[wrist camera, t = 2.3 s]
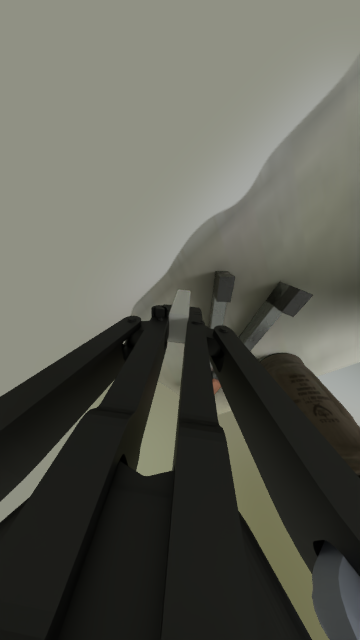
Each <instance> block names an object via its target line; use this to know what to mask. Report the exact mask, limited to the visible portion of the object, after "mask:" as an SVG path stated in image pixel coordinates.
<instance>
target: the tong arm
mask: <svg viewBox="0 0 360 640" xmlns="http://www.w3.org/2000/svg"><path fill="white" fill-rule="evenodd" d="M234 280H235V276H233V275H232V274H231V273H229V272H228V271H216V272H215V280H214V289H213V298H212V306H211V315H210V324H209V328H211V329H214V327H215V326H218V325H223V320H224V314H225V308H226V302H231V296H232V291H233V286H234ZM210 367H211V371H214V369H213V367H212V365H211V363H210Z"/></svg>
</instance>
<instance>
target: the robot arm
mask: <svg viewBox="0 0 360 640" xmlns="http://www.w3.org/2000/svg"><path fill="white" fill-rule="evenodd" d="M190 292H191V291H189V290H179V289H178V291H177V294H176V296H175V299H174V302H173V304H172V305H165V304H164V305H163V306H162V305H158V306H153V307H152V318H151V320H150V321H141V318H140V317H138V316H129V317H126V318H124V319H122V320H121V321H119V322H118V323H116V324H114V325H113V326H111V327H110V328H108V329H107V330H105V331H103V332H102V333H100V334H99V335H97V336H96V337H94V338H92V339H91V340H89V341H88V342H86V343H84V344H83V345H81V346H80V347H78V348H77V349H75V350H73V351H72V352H70V353H69V354H67V355H66V356H64V357H63V358H61V359H59V360H58V361H56V362H55V363H53V364H51V365H50V366H48V367H47V368H45V369H43V370H42V371H40V372H39V373H37V374H36V375H34V376H33V377H31V378H29V379H28V380H26V381H25V382H23V383H22V384H20V385H18V386H17V387H15V388H14V389H12V390H11V391H9V392H7V393H6V394H4V395H2V396H1V397H0V501H1V500H2V499H3V498H5V497H6V496H7V495H8V494H9V493H10V492H11V491H12V490H13V489H14V488H15V487H16V486H17V485H18V484H19V483H20V482H21V481H22V480H23V479H24V478H25V477H26V476H27V475H28V474H29V473H30V472H31V471H32V470H33V469H34V468H35V467H36V466H37V465H38V464H39V463H40V462H41V461H42V459H43V458H44V457H45V456H46V455H47V454H48V453H49V451H51V449H52V448H53V447H54V446H55V445H56V444H57V443H58V442H59V441H60V439H61V438H62V437H63V436H64V435H65V434H66V433H67V432H68V431H69V429H70V428H71V427H72V426H73V425H74V424H75V423H76V422H77V421H78V419H79V418H80V417H81V416H82V415H83V414H84V413H85V412H86V411H87V410H88V408H89V407H90V406H91V405H92V404H93V403H94V402H95V401H96V400H97V398H98V397H99V396H100V395H101V394H102V393H103V392H104V391H105V390H106V388H107V387H108V386H109V385H110V384H111V383H112V382H113V381H114V382H113V384H112V386H111V387H110V389H109V390H108V392H107V394H106V395H105V397H104V399H103V401H102V402H101V404H100V405H99V406H98V407H97V408H94V409H91V410H89V411H88V412H87V413H86V414H85V415H84V416H83V418H82V419H81V420H80V421H79V423H78V424H77V426H76V427H75V429H74V431H73V432H72V434H71V435H70V437H69V438H68V440H67V441H66V443H65V444H64V446H63V447H62V449H61V450H60V452H59V453H58V455H57V457H56V458H55V460H54V461H53V463H52V464H51V466H50V467H49V469H48V470H47V472H46V473H45V475H44V476H43V478H42V479H41V481H40V482H39V484H38V486H37V487H36V489H35V490H34V492H33V493H32V495H31V496H30V497H29V498H28V499H27V500H26V501H25V502H23V503H22V504H21V505H20V506H19V507H18V508H16V509H15V510H14V511H13V512H12V513H11V514H9V515H8V516H7V517H6V518H5V519H4V520H3V521H1V522H0V640H312V639H311V637H310V635H309V633H308V632H307V630H306V628H305V626H304V624H303V623H302V621H301V619H300V618H299V616H298V614H297V612H296V610H295V609H294V607H293V605H292V603H291V601H290V599H289V598H288V596H287V594H286V592H285V590H284V589H283V587H282V585H281V583H280V582H279V580H278V578H277V576H276V574H275V573H274V571H273V569H272V567H271V565H270V564H269V562H268V560H267V558H266V556H265V555H264V553H263V551H262V549H261V547H260V546H259V544H258V542H257V540H256V539H255V537H254V535H253V533H252V531H251V530H250V528H249V526H248V525H247V523H246V521H245V520H244V518H243V517H242V515H241V514H240V512H239V511H238V507H237V501H236V495H235V489H234V483H233V477H232V471H231V465H230V459H229V453H228V447H227V441H226V437H225V433H224V430H223V428H222V427H220V426H219V423H218V418H217V410H216V403H215V396H214V388H213V381H212V374H211V367H210V363H211V365H212V367H213V369H214V372H215V374H216V376H217V378H218V381H219V383H220V385H221V387H222V389H223V392H224V394H225V396H226V398H227V401H228V403H229V405H230V407H231V410H232V412H233V414H234V416H235V419H236V421H237V423H238V425H239V427H240V429H241V432H242V434H243V436H244V439H245V441H246V443H247V445H248V448H249V450H250V452H251V454H252V457H253V459H254V461H255V463H256V465H257V468H258V470H259V472H260V475H261V477H262V479H263V481H264V483H265V486H266V488H267V490H268V492H269V495H270V497H271V499H272V501H273V503H274V505H275V507H276V510H277V512H278V513H279V516H280V518H281V520H282V522H283V524H284V526H285V528H286V530H287V531H288V533H289V535H290V537H291V539H292V541H293V542H294V544H295V546H296V548H297V550H298V551H299V553H300V555H301V557H302V558H303V560H304V561H305V563H306V565H307V567H308V568H309V570H310V571H311V573H312V581H313V592H312V599H313V604H314V609H315V612H316V614H317V617H318V619H319V622H320V624H321V626H322V628H323V629H324V631H325V633H326V634H327V636H328V638H329V639H330V640H360V478H359V477H358V476H357V474H356V473H355V472H354V471H353V470H352V469H351V467H350V466H349V465H348V464H347V463H346V462H345V460H344V459H343V458H342V457H341V456H340V455H339V454H338V452H337V451H336V450H335V449H334V448H333V447H332V445H331V444H330V443H329V442H328V441H327V440H326V438H325V437H324V436H323V435H322V434H321V433H320V432H319V430H318V429H317V428H316V427H315V426H314V425H313V423H312V422H311V421H310V420H309V419H308V418H307V416H306V415H305V414H304V413H303V412H302V411H301V410H300V408H299V407H298V406H297V405H296V404H295V403H294V401H293V400H292V399H291V398H290V397H289V396H288V395H287V393H286V392H285V391H284V390H283V389H282V388H281V386H280V385H279V384H278V383H277V382H276V381H275V379H274V378H273V377H272V376H271V375H270V374H269V373H268V371H267V370H266V369H265V368H264V367H263V366H262V364H261V363H260V362H259V361H258V360H257V359H256V357H255V356H254V355H253V354H252V353H251V352H250V351H249V349H248V348H247V347H246V346H245V345H244V344H243V342H242V341H241V340H240V339H239V338H238V337H237V335H236V334H235V333H234V332H233V331H232V330H231V329H230V328H228V327H227V326H223V325H218V326H215V327H214V329H211V328H209V327H206V326H205V323H204V321H202V313H201V309H200V308H196V307H189V306H190ZM167 340H168V342H176V343H185V347H184V357H183V368H182V378H181V388H180V399H179V409H178V420H177V431H176V440H175V450H174V459H173V468H172V471H169V472H164V473H160V474H156V475H152V476H143V475H141V474H140V473H138V472H136V469H137V465H138V460H139V454H140V447H141V442H142V438H143V434H144V430H145V427H146V422H147V419H148V415H149V412H150V408H151V404H152V400H153V397H154V393H155V389H156V385H157V382H158V378H159V374H160V370H161V367H162V363H163V359H164V355H165V352H166V348H167ZM124 341H126V342H125V343H124V344H123V342H124ZM115 378H116V379H115Z"/></svg>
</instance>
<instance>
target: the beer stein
mask: <svg viewBox="0 0 360 640" xmlns="http://www.w3.org/2000/svg"><path fill="white" fill-rule="evenodd" d="M260 363H261V364H262V366H263V367H264V368H265V369H266V370H267V371H268V373H269V374H270V375H271V376H272V377H273V378H274V379H275V381H276V382H277V383H278V384H279V385H280V386H281V388H282V389H283V390H284V391H285V392H286V393H287V395H288V396H289V397H290V398H291V399H292V400H293V401H294V403H295V404H296V405H297V406H298V407H299V408H300V410H301V411H302V412H303V413H304V414H305V415H306V416H307V418H308V419H309V420H310V421H311V422H312V423H313V425H314V426H315V427H316V428H317V429H318V430H319V432H320V433H321V434H322V435H323V436H324V437H325V438H326V440H327V441H328V442H329V443H330V444H331V445H332V447H333V448H334V449H335V450H336V451H337V452H338V454H339V455H340V456H341V457H342V458H343V459H344V460H345V462H346V463H347V464H348V465H349V466H350V467H351V469H352V470H353V471H354V472H355V473H356V474H357V476H358V477H359V478H360V427H359V426H358V425H357V423H356V422H355V421H354V419H353V417H352V416H351V415H350V413H349V412H348V411H347V410H346V409H345V408H344V406H343V405H342V404H341V403H340V402H339V401H338V400H337V399H336V398H335V397H334V396H333V395H332V394H331V392H330V391H329V390H328V389H327V388H326V387H325V386H324V385H323V384H322V383H321V381H320V380H319V379H318V378H317V377H316V376H315V375H314V374H313V372H311V371H310V370H309V369H308V368H307V367H306V366H305V365H304V363H303V362H302V360H301V359H300V358H299V357H297V356H296V355H293V354H288V353H279V354H275V355H271V356H269V357H267V358H265V359H263V360H262V361H261V362H260Z"/></svg>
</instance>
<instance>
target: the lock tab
mask: <svg viewBox="0 0 360 640" xmlns="http://www.w3.org/2000/svg"><path fill="white" fill-rule="evenodd" d="M212 381H213V388H214V395H215V393H216V392H217V391H218V390H219V389H220V388H221V385H220V383H219V381H218V380H216V379H213V380H212Z"/></svg>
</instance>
